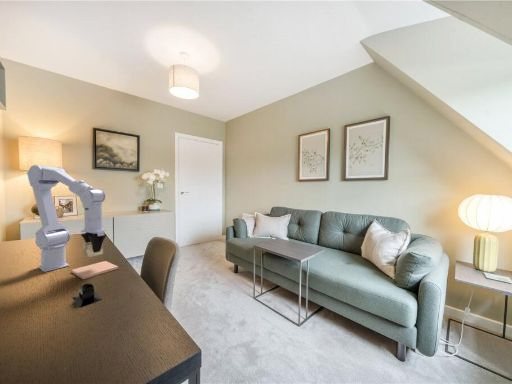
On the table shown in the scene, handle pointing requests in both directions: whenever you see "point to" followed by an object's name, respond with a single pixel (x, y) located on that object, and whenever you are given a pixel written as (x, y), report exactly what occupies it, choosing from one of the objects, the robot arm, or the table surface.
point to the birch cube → (90, 250)
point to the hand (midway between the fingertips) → (94, 250)
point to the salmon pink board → (94, 269)
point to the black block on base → (86, 295)
